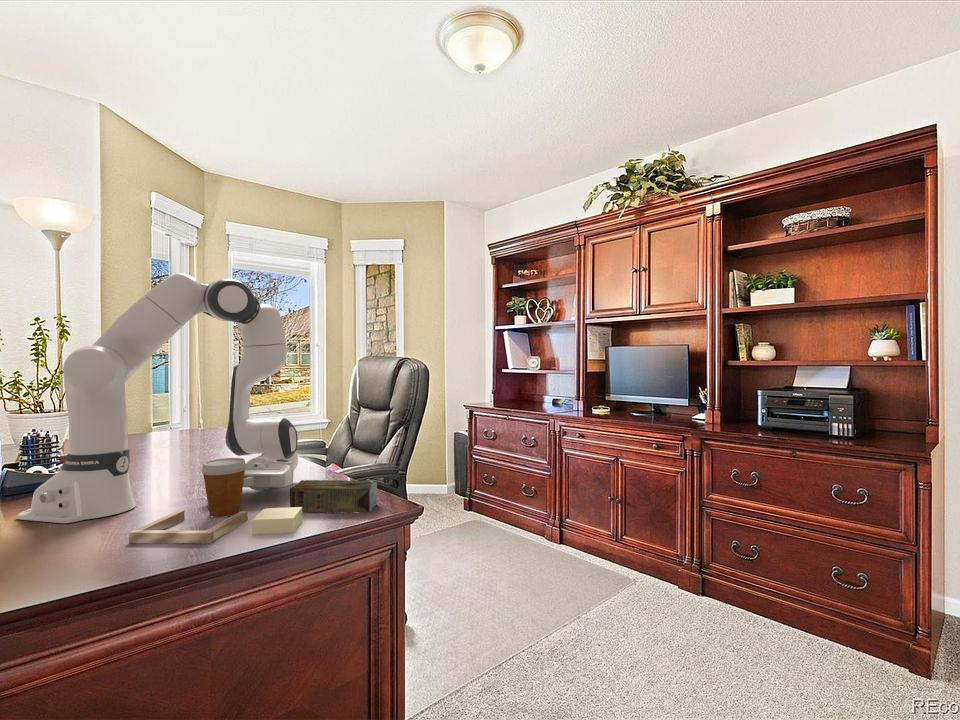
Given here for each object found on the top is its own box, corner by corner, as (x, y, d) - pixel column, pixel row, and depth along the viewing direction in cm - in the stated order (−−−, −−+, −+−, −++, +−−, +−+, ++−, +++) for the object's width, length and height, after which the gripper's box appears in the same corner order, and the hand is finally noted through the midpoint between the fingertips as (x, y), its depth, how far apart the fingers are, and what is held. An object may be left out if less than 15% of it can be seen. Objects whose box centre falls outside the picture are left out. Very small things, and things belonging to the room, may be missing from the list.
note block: (252, 534, 101) (252, 519, 101) (264, 522, 109) (264, 508, 109) (293, 532, 102) (293, 518, 102) (302, 520, 110) (302, 506, 110)
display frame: (129, 542, 97) (129, 532, 97) (178, 519, 111) (177, 510, 111) (209, 543, 96) (209, 533, 96) (247, 520, 111) (247, 511, 111)
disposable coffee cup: (213, 507, 120) (212, 457, 120) (253, 506, 121) (253, 456, 121) (193, 520, 111) (192, 466, 110) (237, 519, 111) (237, 465, 111)
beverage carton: (370, 514, 115) (370, 485, 115) (287, 514, 115) (287, 486, 115) (377, 504, 123) (377, 477, 123) (300, 505, 123) (300, 478, 123)
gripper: (223, 460, 134) (191, 471, 120) (298, 461, 133) (275, 472, 119) (223, 484, 134) (191, 498, 120) (298, 484, 133) (275, 498, 119)
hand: (233, 485), depth 120 cm, fingers closed, pressing on disposable coffee cup
